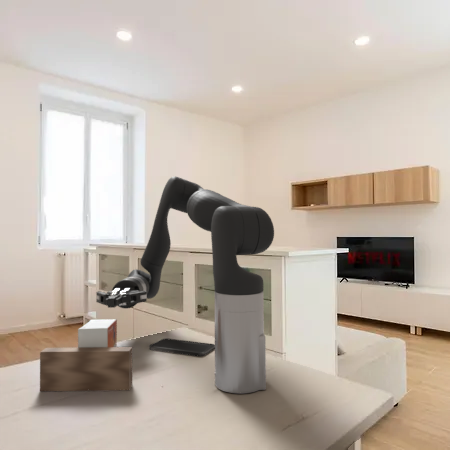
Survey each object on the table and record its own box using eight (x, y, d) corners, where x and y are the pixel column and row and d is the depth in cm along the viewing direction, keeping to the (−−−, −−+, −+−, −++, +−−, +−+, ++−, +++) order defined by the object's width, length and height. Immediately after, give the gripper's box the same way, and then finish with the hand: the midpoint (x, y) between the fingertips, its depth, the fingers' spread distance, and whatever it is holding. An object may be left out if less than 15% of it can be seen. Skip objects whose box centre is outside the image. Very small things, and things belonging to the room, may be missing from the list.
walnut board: (132, 384, 69) (132, 347, 69) (129, 390, 67) (129, 351, 67) (46, 385, 69) (46, 347, 69) (39, 391, 66) (40, 351, 67)
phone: (202, 353, 84) (147, 346, 90) (202, 358, 84) (147, 350, 90) (216, 344, 92) (165, 337, 98) (216, 348, 92) (165, 342, 98)
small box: (107, 384, 69) (107, 328, 69) (77, 385, 69) (77, 328, 69) (117, 369, 77) (117, 318, 77) (90, 369, 77) (90, 318, 77)
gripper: (105, 277, 100) (81, 286, 83) (154, 277, 100) (140, 285, 83) (105, 305, 100) (81, 320, 82) (154, 305, 100) (140, 319, 83)
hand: (111, 302), depth 83 cm, fingers closed
